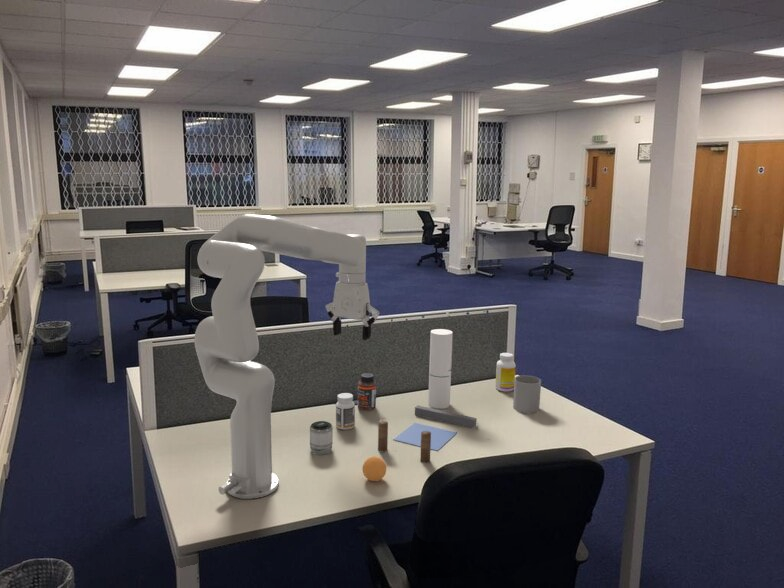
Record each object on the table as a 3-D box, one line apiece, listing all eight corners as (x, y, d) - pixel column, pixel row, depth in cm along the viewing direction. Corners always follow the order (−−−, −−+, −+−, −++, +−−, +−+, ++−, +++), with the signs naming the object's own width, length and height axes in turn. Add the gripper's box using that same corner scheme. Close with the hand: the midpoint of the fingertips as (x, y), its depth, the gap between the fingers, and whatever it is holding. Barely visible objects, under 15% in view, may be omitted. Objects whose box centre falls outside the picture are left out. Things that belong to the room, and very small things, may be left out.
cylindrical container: (453, 403, 211) (456, 331, 206) (443, 410, 205) (446, 335, 200) (434, 399, 214) (437, 327, 209) (424, 405, 208) (426, 332, 203)
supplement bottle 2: (518, 390, 224) (520, 355, 222) (503, 393, 221) (505, 358, 218) (505, 384, 230) (507, 350, 227) (491, 387, 227) (493, 353, 224)
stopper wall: (473, 428, 191) (474, 420, 191) (414, 414, 201) (415, 407, 200) (476, 425, 193) (476, 418, 192) (417, 412, 202) (417, 405, 202)
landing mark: (437, 451, 175) (437, 450, 175) (393, 440, 182) (393, 439, 182) (457, 433, 187) (457, 432, 187) (414, 423, 194) (414, 422, 194)
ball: (378, 488, 155) (379, 465, 154) (357, 481, 158) (358, 459, 156) (390, 477, 160) (390, 455, 159) (370, 472, 163) (370, 450, 162)
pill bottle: (356, 423, 193) (356, 392, 191) (353, 431, 188) (353, 399, 186) (337, 422, 194) (337, 391, 192) (334, 429, 188) (334, 398, 186)
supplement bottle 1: (354, 410, 204) (354, 376, 201) (361, 403, 209) (361, 371, 207) (372, 412, 202) (372, 379, 199) (378, 406, 207) (378, 373, 205)
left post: (384, 452, 174) (385, 425, 172) (376, 450, 175) (376, 423, 173) (389, 448, 176) (389, 422, 175) (380, 446, 177) (381, 420, 176)
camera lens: (305, 449, 175) (305, 422, 173) (324, 443, 179) (324, 417, 177) (318, 457, 170) (317, 430, 169) (337, 451, 174) (337, 424, 173)
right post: (427, 463, 168) (428, 435, 166) (418, 461, 169) (419, 433, 167) (431, 459, 170) (432, 432, 168) (422, 457, 171) (423, 430, 170)
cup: (511, 411, 205) (513, 382, 203) (514, 402, 213) (516, 374, 211) (538, 414, 203) (540, 385, 201) (540, 405, 210) (542, 377, 208)
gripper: (319, 277, 179) (319, 335, 182) (372, 283, 171) (371, 344, 175) (333, 273, 186) (333, 329, 189) (385, 279, 178) (384, 338, 181)
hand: (351, 336), depth 182 cm, fingers open, 9 cm apart
